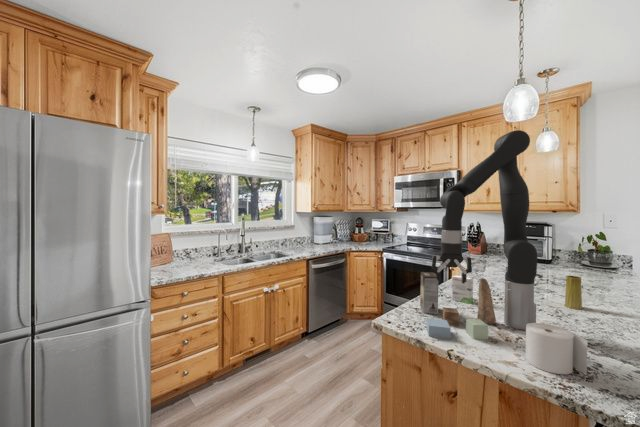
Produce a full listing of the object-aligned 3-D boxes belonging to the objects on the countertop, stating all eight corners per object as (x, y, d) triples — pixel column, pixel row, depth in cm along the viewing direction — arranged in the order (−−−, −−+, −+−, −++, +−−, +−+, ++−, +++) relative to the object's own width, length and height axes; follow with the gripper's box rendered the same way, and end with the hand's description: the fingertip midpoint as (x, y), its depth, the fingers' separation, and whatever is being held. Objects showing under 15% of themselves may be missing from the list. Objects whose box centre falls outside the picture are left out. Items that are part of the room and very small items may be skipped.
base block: (446, 330, 102) (446, 320, 102) (450, 339, 95) (450, 328, 95) (426, 328, 104) (426, 318, 104) (428, 336, 97) (429, 325, 97)
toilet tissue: (519, 352, 87) (519, 320, 86) (565, 358, 83) (566, 325, 83) (534, 371, 76) (535, 335, 76) (588, 379, 73) (589, 341, 73)
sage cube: (479, 333, 100) (480, 319, 100) (487, 339, 95) (488, 325, 95) (465, 332, 100) (466, 319, 100) (473, 339, 95) (473, 324, 95)
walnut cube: (456, 321, 111) (456, 308, 111) (458, 325, 106) (458, 313, 106) (442, 319, 112) (442, 307, 112) (444, 324, 108) (444, 311, 108)
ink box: (473, 301, 135) (473, 277, 135) (469, 304, 131) (470, 279, 131) (454, 297, 141) (455, 274, 141) (451, 299, 138) (451, 276, 137)
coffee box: (419, 305, 128) (420, 271, 128) (434, 307, 127) (434, 272, 127) (423, 313, 119) (423, 276, 119) (438, 314, 118) (439, 277, 118)
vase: (567, 308, 126) (568, 277, 126) (562, 304, 132) (562, 274, 132) (585, 310, 124) (585, 278, 124) (578, 306, 130) (578, 276, 130)
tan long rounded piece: (477, 319, 114) (479, 325, 108) (470, 276, 114) (472, 280, 109) (494, 319, 112) (498, 326, 106) (487, 275, 112) (490, 279, 106)
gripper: (469, 241, 111) (468, 281, 111) (431, 239, 115) (430, 278, 115) (473, 243, 103) (473, 286, 104) (433, 241, 107) (432, 283, 108)
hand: (451, 282), depth 109 cm, fingers open, 8 cm apart
